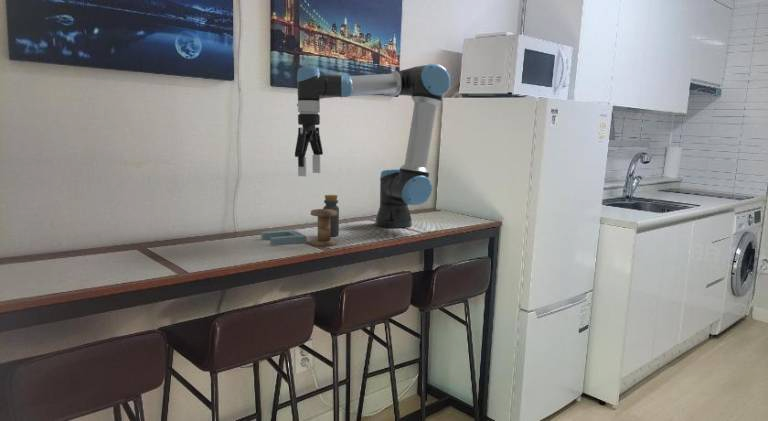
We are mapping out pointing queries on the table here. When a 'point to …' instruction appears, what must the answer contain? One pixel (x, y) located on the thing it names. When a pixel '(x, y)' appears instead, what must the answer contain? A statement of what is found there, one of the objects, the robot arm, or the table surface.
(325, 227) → the wooden spool
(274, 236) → the bracket
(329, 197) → the bottle
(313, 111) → the robot arm
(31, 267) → the table surface
